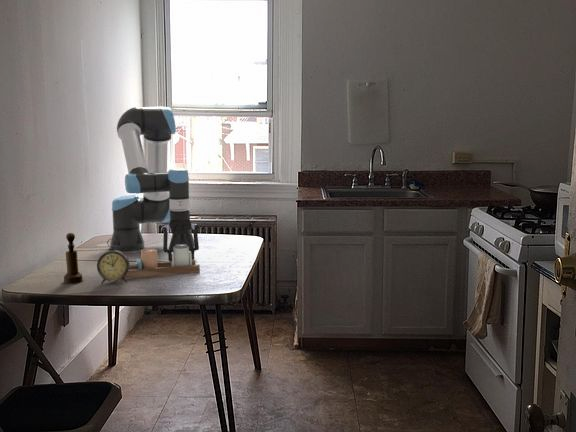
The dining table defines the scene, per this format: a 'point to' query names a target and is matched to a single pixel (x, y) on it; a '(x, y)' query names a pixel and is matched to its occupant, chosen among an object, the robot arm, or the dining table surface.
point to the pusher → (139, 264)
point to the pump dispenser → (184, 239)
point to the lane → (162, 270)
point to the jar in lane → (149, 258)
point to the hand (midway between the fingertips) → (181, 268)
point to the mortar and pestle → (72, 262)
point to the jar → (181, 255)
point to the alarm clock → (113, 265)
